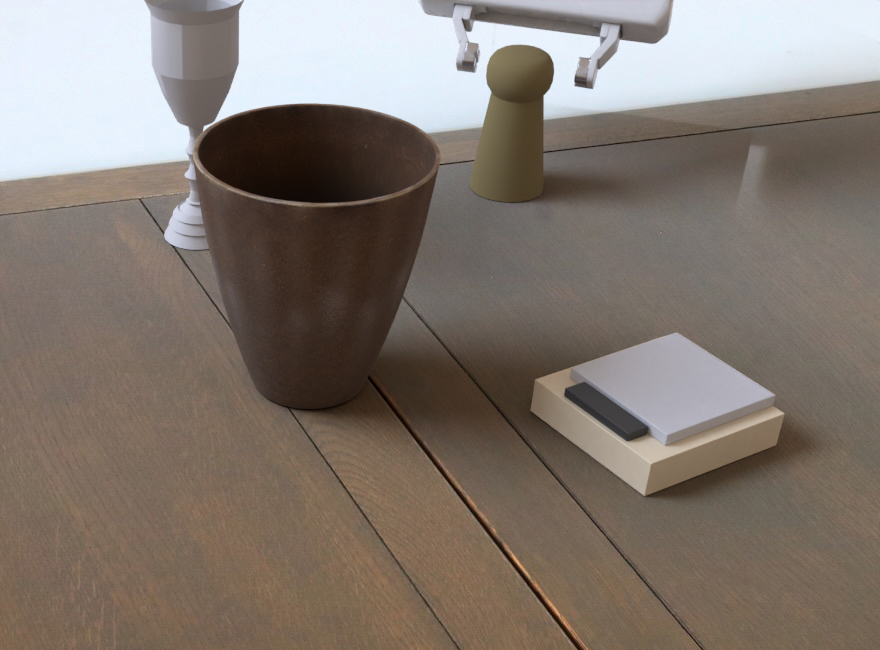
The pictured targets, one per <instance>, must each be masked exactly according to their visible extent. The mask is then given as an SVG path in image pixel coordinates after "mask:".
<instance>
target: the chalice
mask: <svg viewBox="0 0 880 650" xmlns="http://www.w3.org/2000/svg"><path fill="white" fill-rule="evenodd" d="M143 1H144V2H145V5H146V7H147V8H148V10H149V12H150V16H149V17H150V43H151V44H150V48H151V66H152V69H153V72H154V74H155V78H156V80H157V83H158V85H159V88H160V91H161V94H162V96H163V97H164V99H165V101H166V103H167V105H168V107H169V109H170V110H171V112H172V115H173V117H174V118H175V120H176V122H177V123H178V124H180V125H182V126H185V127H187V128H188V132H189V139H188V144H187V147H186V148H185V150H184V151H185V153H186V155H187V156H188V159H189V166H188V169H187V170H186V171H185V173H184V177H185V178H186V179H187V180H188V183H189V187H190V191H189V196H188V197H187V198H186V199H185V200H182V201H181V202H179V203H178V204H177V205H176V207H174V209H173V211H172V216H171V217H170V219H169V221H168V225H167V227H166V229H165V231H164V235H163V236H164V239H165V241H166V242H168V244H170V245H172V246H174V247H176V248H179V249H183V250H184V249H185V250H192V251H201V250H202V251H203V250H209V247H208V243H207V238H206V233H205V229H204V224H203V219H202V213H201V207H200V201H199V195H198V189H197V182H196V175H195V168H194V161H193V153H192V150H193V146H194V144H195V141H196V140H197V138H198V137H199V136H200V134H201V133H202V132H203V131H204V129H205V127H206V126H210V125H212V124H214V122H215V121H216V120H217V117H218V115H219V113H220V111H221V109H222V107H223V105H224V103H225V101H226V99H227V97H228V95H229V93H230V91H231V88H232V85H233V82H234V79H235V76H236V73H237V69H238V67H239V64H240V9H241V8H242V6H243V4H244V1H245V0H143Z"/></svg>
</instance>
